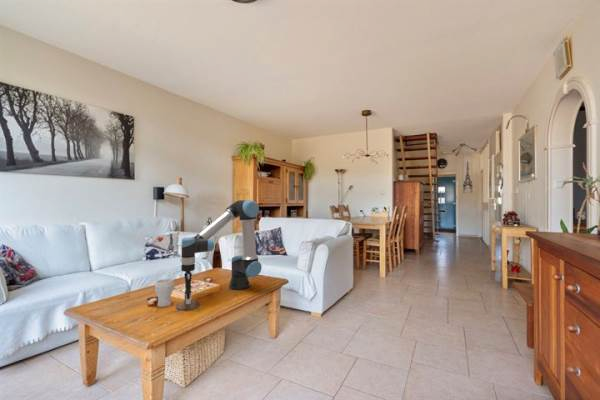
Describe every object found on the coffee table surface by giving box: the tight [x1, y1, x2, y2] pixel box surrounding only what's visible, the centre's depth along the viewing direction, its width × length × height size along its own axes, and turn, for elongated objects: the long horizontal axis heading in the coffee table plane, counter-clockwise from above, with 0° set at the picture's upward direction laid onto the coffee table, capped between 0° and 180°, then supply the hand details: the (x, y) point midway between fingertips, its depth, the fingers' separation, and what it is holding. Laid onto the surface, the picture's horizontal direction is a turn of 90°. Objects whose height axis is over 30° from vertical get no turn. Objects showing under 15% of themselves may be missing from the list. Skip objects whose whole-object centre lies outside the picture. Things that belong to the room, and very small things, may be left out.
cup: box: [154, 278, 175, 308], centre depth 173 cm, size 11×11×15 cm
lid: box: [175, 293, 200, 312], centre depth 170 cm, size 13×13×8 cm
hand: (187, 301), depth 170 cm, fingers open, 9 cm apart
